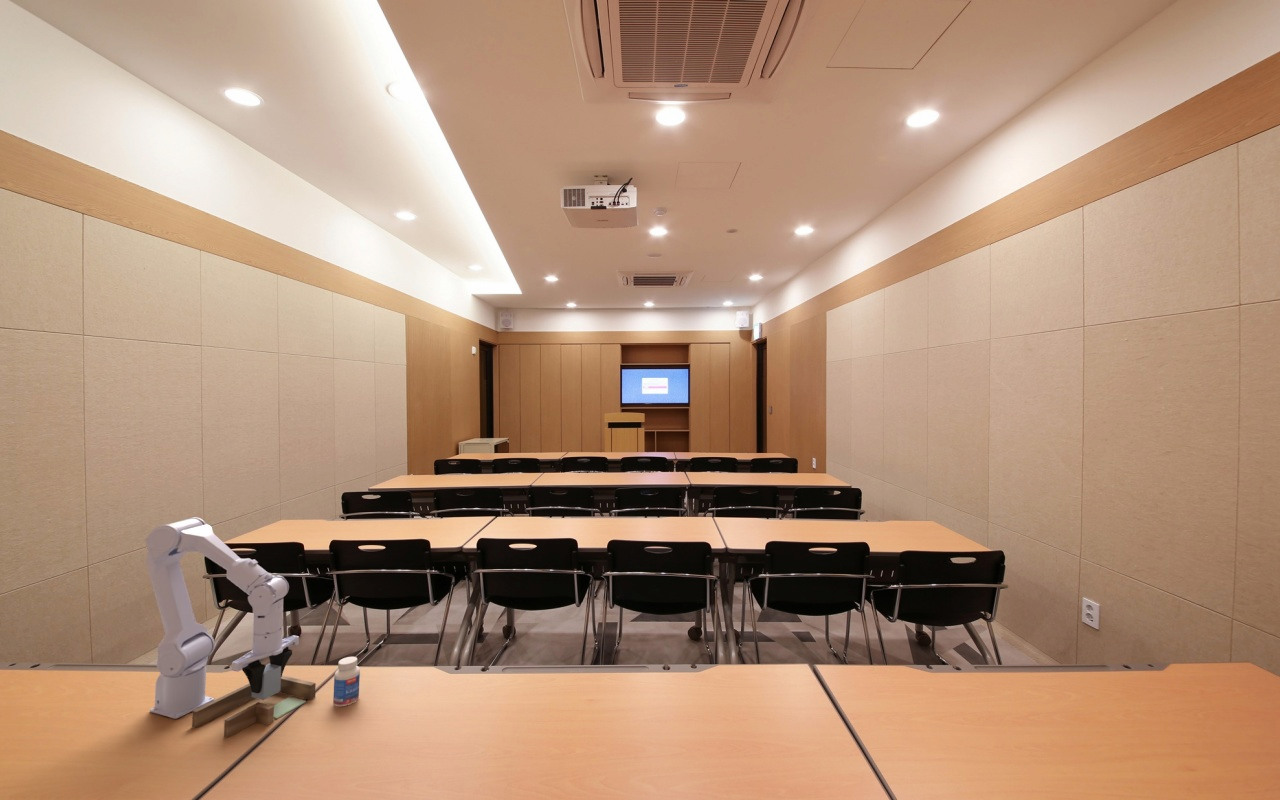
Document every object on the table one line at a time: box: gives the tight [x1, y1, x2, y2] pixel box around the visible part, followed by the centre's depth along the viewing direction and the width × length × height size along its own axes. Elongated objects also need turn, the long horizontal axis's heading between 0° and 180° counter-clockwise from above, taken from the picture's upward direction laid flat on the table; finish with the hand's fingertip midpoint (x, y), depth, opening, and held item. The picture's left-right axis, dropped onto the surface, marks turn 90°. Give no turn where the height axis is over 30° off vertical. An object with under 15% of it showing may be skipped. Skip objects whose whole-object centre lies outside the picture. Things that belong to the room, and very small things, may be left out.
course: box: [191, 674, 317, 738], centre depth 116 cm, size 15×17×4 cm
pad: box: [273, 696, 307, 720], centre depth 117 cm, size 6×7×1 cm
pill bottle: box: [332, 656, 361, 708], centre depth 120 cm, size 6×5×10 cm
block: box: [251, 663, 281, 701], centre depth 119 cm, size 4×4×6 cm
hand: (266, 687), depth 119 cm, fingers closed on block, 4 cm apart
